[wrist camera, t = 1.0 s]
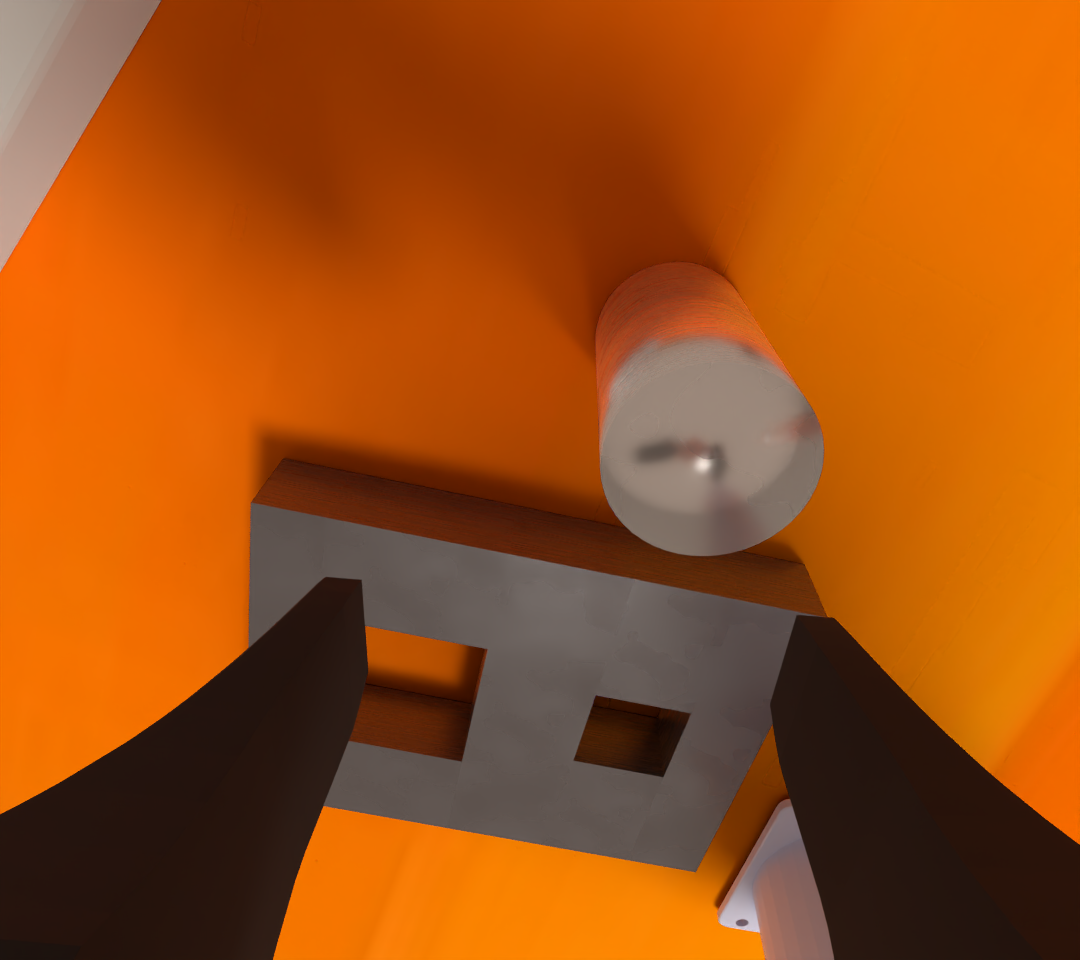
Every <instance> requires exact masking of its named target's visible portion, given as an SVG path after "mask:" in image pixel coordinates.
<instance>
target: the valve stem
mask: <svg viewBox="0 0 1080 960" xmlns="http://www.w3.org/2000/svg"><path fill="white" fill-rule="evenodd" d="M595 349H596V374H597V400H598V425H599V451H600V472H601V482H602V486H603V490H604V493H605V496H606V498H607V501H608V503H609V505H610V507H611V508H612V510H613V512H614V513H615V515H616V516H617V517H618V519H619V520H620V521H621V522H622V523H623V525H625V526H626V527H627V528H628V529H629V530H630V531H631V532H632V533H633V534H635V535H636V536H638V537H639V538H640V539H642V540H644V541H646V542H647V543H649V544H651V545H653V546H655V547H658V548H661V549H663V550H666V551H670V552H673V553H677V554H683V555H690V556H714V555H723V554H728V553H733V552H737V551H740V550H744V549H747V548H749V547H752V546H754V545H757V544H759V543H761V542H763V541H765V540H766V539H768V538H770V537H772V536H773V535H775V534H776V533H778V532H779V531H781V530H782V529H783V528H784V527H786V526H787V525H788V524H789V523H790V522H791V521H793V519H794V518H795V517H796V516H797V515H798V514H799V513H800V512H801V511H802V509H803V508H804V507H805V505H806V504H807V502H808V501H809V500H810V498H811V496H812V494H813V492H814V490H815V489H816V486H817V483H818V481H819V478H820V475H821V471H822V466H823V458H824V444H823V436H822V432H821V428H820V424H819V422H818V419H817V417H816V415H815V413H814V411H813V409H812V408H811V406H810V405H809V403H808V401H807V400H806V398H805V397H804V395H803V394H802V392H801V391H800V389H799V387H798V386H797V384H796V383H795V381H794V380H793V378H792V376H791V375H790V373H789V372H788V370H787V369H786V367H785V366H784V364H783V362H782V361H781V359H780V358H779V356H778V355H777V353H776V351H775V350H774V348H773V347H772V345H771V344H770V342H769V341H768V339H767V337H766V336H765V334H764V333H763V331H762V330H761V328H760V326H759V325H758V323H757V322H756V320H755V319H754V317H753V316H752V314H751V312H750V311H749V309H748V308H747V306H746V305H745V303H744V301H743V300H742V298H741V297H740V295H739V294H738V292H737V291H736V289H735V288H734V287H733V286H732V285H731V283H730V282H729V281H727V280H726V279H725V278H724V277H723V276H721V275H720V274H718V273H717V272H715V271H714V270H711V269H709V268H707V267H705V266H702V265H698V264H695V263H689V262H666V263H660V264H656V265H652V266H650V267H647V268H645V269H642V270H640V271H639V272H637V273H635V274H633V275H632V276H630V277H629V278H627V279H626V280H625V281H624V282H622V283H621V284H620V285H619V286H618V287H617V288H616V289H615V291H614V292H613V293H612V294H611V295H610V297H609V298H608V300H607V301H606V303H605V305H604V307H603V309H602V311H601V313H600V316H599V319H598V322H597V327H596V336H595Z"/></svg>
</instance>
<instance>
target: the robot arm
mask: <svg viewBox="0 0 1080 960" xmlns="http://www.w3.org/2000/svg"><path fill="white" fill-rule="evenodd" d="M367 674H368V661H367V647H366V633H365V619H364V605H363V590H362V580H359V579H347V578H335V577H325V578H323V579H322V580H321V581H320V582H318V583H317V584H316V585H315V586H314V587H313V588H312V589H311V590H310V591H309V592H308V593H307V594H306V595H305V596H304V597H303V598H302V599H301V600H300V601H299V602H298V603H297V604H295V605H294V606H293V607H292V608H291V609H290V610H289V611H288V612H287V613H286V614H285V615H284V616H283V617H282V618H281V619H280V620H279V621H278V622H277V623H275V624H274V625H273V626H272V627H271V628H270V629H269V630H268V631H267V632H266V633H265V634H264V635H262V636H261V637H260V638H259V639H258V640H257V641H256V642H255V643H253V644H252V645H251V646H250V647H249V648H248V649H247V650H246V651H245V652H243V653H242V654H241V655H240V656H239V657H238V658H237V659H236V660H234V661H233V662H232V663H231V664H230V665H229V666H227V667H226V668H225V669H224V670H222V671H221V672H220V673H219V674H218V675H216V676H215V677H214V678H213V679H211V680H210V681H209V682H208V683H206V684H205V685H204V686H203V687H202V688H200V689H199V690H198V691H197V692H195V693H194V694H193V695H192V696H190V697H189V698H188V699H187V700H185V701H184V702H183V703H181V704H180V705H179V706H177V707H176V708H175V709H173V710H172V711H171V712H169V713H168V714H167V715H165V716H164V717H162V718H161V719H160V720H158V721H157V722H155V723H154V724H152V725H151V726H150V727H148V728H147V729H145V730H144V731H142V732H141V733H139V734H138V735H137V736H135V737H134V738H132V739H130V740H129V741H127V742H126V743H124V744H123V745H121V746H120V747H118V748H116V749H115V750H113V751H111V752H110V753H108V754H106V755H105V756H103V757H101V758H100V759H98V760H96V761H95V762H93V763H91V764H90V765H88V766H87V767H85V768H83V769H82V770H80V771H78V772H77V773H75V774H73V775H72V776H70V777H68V778H67V779H65V780H63V781H62V782H60V783H58V784H56V785H55V786H53V787H51V788H49V789H47V790H45V791H44V792H42V793H40V794H38V795H36V796H34V797H33V798H31V799H29V800H27V801H25V802H23V803H21V804H20V805H18V806H16V807H14V808H12V809H10V810H8V811H6V812H4V813H2V814H0V960H273V957H274V953H275V949H276V946H277V942H278V939H279V935H280V932H281V928H282V925H283V921H284V918H285V914H286V911H287V907H288V904H289V900H290V897H291V893H292V890H293V886H294V883H295V880H296V877H297V874H298V871H299V868H300V865H301V862H302V860H303V857H304V854H305V851H306V849H307V846H308V843H309V841H310V838H311V836H312V833H313V831H314V828H315V826H316V823H317V821H318V818H319V816H320V813H321V810H322V808H323V805H324V803H325V800H326V798H327V795H328V793H329V790H330V788H331V785H332V783H333V780H334V777H335V775H336V772H337V770H338V767H339V765H340V762H341V760H342V757H343V754H344V752H345V749H346V747H347V744H348V741H349V739H350V736H351V734H352V731H353V728H354V725H355V721H356V717H357V714H358V710H359V706H360V703H361V699H362V694H363V690H364V686H365V682H366V678H367ZM770 709H771V715H772V722H773V728H774V735H775V741H776V746H777V752H778V757H779V763H780V766H781V770H782V773H783V777H784V780H785V784H786V787H787V790H788V794H789V797H790V799H786V800H783V801H781V802H780V803H779V804H778V805H777V807H776V809H775V811H774V812H773V814H772V816H771V818H770V819H769V821H768V823H767V825H766V826H765V828H764V830H763V832H762V834H761V835H760V837H759V839H758V841H757V842H756V844H755V846H754V848H753V849H752V851H751V853H750V855H749V856H748V858H747V860H746V862H745V863H744V865H743V867H742V869H741V870H740V872H739V874H738V876H737V878H736V879H735V881H734V883H733V885H732V886H731V888H730V890H729V892H728V893H727V895H726V897H725V899H724V900H723V902H722V904H721V906H720V907H719V909H718V912H717V915H718V921H719V923H720V924H722V925H723V926H726V927H731V928H737V929H742V930H748V931H754V932H760V935H761V940H762V945H763V950H764V955H765V960H1080V845H1079V844H1078V843H1077V842H1075V841H1074V840H1072V839H1071V838H1070V837H1068V836H1067V835H1066V834H1064V833H1063V832H1062V831H1061V830H1059V829H1058V828H1057V827H1055V826H1054V825H1053V824H1051V823H1050V822H1049V821H1047V820H1046V819H1045V818H1044V817H1042V816H1041V815H1040V814H1039V813H1037V812H1036V811H1035V810H1034V809H1032V808H1031V807H1030V806H1029V805H1028V804H1026V803H1025V802H1024V801H1023V800H1021V799H1020V798H1019V797H1018V796H1016V795H1015V794H1014V793H1013V792H1011V791H1010V790H1009V789H1008V788H1007V787H1005V786H1004V785H1003V784H1002V783H1001V782H999V781H998V780H997V779H996V778H995V777H994V776H992V775H991V774H990V773H989V772H988V771H987V770H985V769H984V768H983V767H982V766H981V765H980V764H979V763H978V762H977V761H976V760H974V759H973V758H972V757H971V756H970V755H969V754H968V753H967V752H966V751H965V750H964V749H962V748H961V747H960V746H959V745H958V744H957V743H956V742H955V741H954V740H953V739H952V738H950V737H949V736H948V735H947V734H946V733H945V732H944V731H943V730H942V729H941V728H940V727H939V726H938V725H937V724H936V723H935V722H934V721H933V720H932V719H931V718H930V717H929V716H928V715H927V714H926V713H925V712H924V711H923V710H922V709H921V708H920V707H919V706H918V705H917V704H916V703H915V702H914V701H913V700H912V699H911V698H910V697H909V696H908V695H907V694H906V693H905V692H904V691H903V690H902V689H901V688H900V687H899V686H898V685H897V684H896V683H895V682H894V681H893V680H892V679H891V678H890V676H889V675H888V674H887V673H886V672H885V671H884V670H883V669H882V668H881V667H880V666H879V665H878V664H877V663H876V662H875V661H874V660H873V658H872V657H871V656H870V655H869V654H868V653H867V652H866V651H865V650H864V649H863V648H862V647H861V646H860V645H859V643H858V642H857V641H856V640H855V639H854V638H853V637H852V636H851V635H850V634H849V633H848V632H847V631H846V630H845V629H844V628H843V627H842V626H841V625H840V624H839V623H838V622H837V621H836V620H835V619H834V618H829V617H817V616H804V615H796V618H795V622H794V625H793V629H792V632H791V635H790V639H789V642H788V645H787V649H786V652H785V655H784V659H783V662H782V665H781V669H780V672H779V675H778V679H777V682H776V685H775V689H774V692H773V695H772V699H771V702H770Z"/></svg>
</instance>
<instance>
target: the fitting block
mask: <svg viewBox="0 0 1080 960" xmlns="http://www.w3.org/2000/svg"><path fill="white" fill-rule="evenodd" d="M325 577H335V578H347V579H359V580H362V590H363V605H364V619H365V626H369V627H375V628H380V629H385V630H390V631H396V632H401V633H406V634H411V635H416V636H422V637H427V638H432V639H437V640H442V641H448V642H453V643H458V644H463V645H468V646H474V647H479V648H484V653H483V657H482V662H481V666H480V670H479V675H478V679H477V684H476V688H475V693H474V697H473V701H472V704H469V703H464V702H458V701H453V700H448V699H442V698H437V697H432V696H426V695H421V694H416V693H410V692H405V691H400V690H394V689H389V688H384V687H378V686H373V685H368V684H365V686H364V690H363V694H362V699H361V703H360V706H359V710H358V714H357V717H356V721H355V725H354V728H353V731H352V734H351V736H350V739H349V741H348V744H347V747H346V749H345V752H344V754H343V757H342V760H341V762H340V765H339V767H338V770H337V772H336V775H335V777H334V780H333V783H332V785H331V788H330V790H329V793H328V795H327V798H326V800H325V803H324V805H323V806H327V807H332V808H338V809H344V810H349V811H355V812H360V813H366V814H372V815H377V816H383V817H389V818H394V819H400V820H405V821H411V822H417V823H422V824H428V825H434V826H439V827H445V828H451V829H456V830H462V831H467V832H473V833H479V834H484V835H490V836H496V837H501V838H507V839H512V840H518V841H524V842H529V843H535V844H541V845H546V846H552V847H557V848H563V849H569V850H574V851H580V852H586V853H591V854H597V855H602V856H608V857H614V858H619V859H625V860H631V861H636V862H642V863H647V864H653V865H659V866H664V867H670V868H676V869H681V870H687V871H692V872H696V870H697V868H698V866H699V865H700V863H701V861H702V859H703V857H704V855H705V853H706V851H707V849H708V847H709V845H710V843H711V841H712V839H713V838H714V836H715V834H716V832H717V830H718V828H719V826H720V824H721V822H722V820H723V818H724V816H725V814H726V812H727V811H728V809H729V807H730V805H731V803H732V801H733V799H734V797H735V795H736V793H737V791H738V789H739V787H740V785H741V784H742V782H743V780H744V778H745V776H746V774H747V772H748V770H749V768H750V766H751V764H752V762H753V760H754V758H755V757H756V755H757V753H758V751H759V749H760V747H761V745H762V743H763V741H764V739H765V737H766V735H767V733H768V731H769V730H770V728H771V726H772V724H773V722H772V715H771V709H770V702H771V699H772V695H773V692H774V689H775V685H776V682H777V679H778V675H779V672H780V669H781V665H782V662H783V659H784V655H785V652H786V649H787V645H788V642H789V639H790V635H791V632H792V629H793V625H794V622H795V618H796V615H804V616H817V617H827V615H826V613H825V611H824V608H823V606H822V604H821V601H820V599H819V597H818V594H817V592H816V590H815V587H814V585H813V583H812V580H811V578H810V576H809V573H808V571H807V569H806V566H805V564H800V563H795V562H790V561H786V560H781V559H776V558H771V557H766V556H761V555H756V554H751V553H746V552H741V551H737V552H733V553H728V554H723V555H714V556H690V555H683V554H677V553H673V552H670V551H666V550H663V549H661V548H658V547H655V546H653V545H651V544H649V543H647V542H646V541H644V540H642V539H640V538H639V537H638V536H636V535H635V534H633V533H632V532H631V531H630V530H629V529H628V528H623V527H618V526H614V525H609V524H604V523H599V522H594V521H589V520H584V519H579V518H574V517H569V516H564V515H559V514H555V513H550V512H545V511H540V510H535V509H530V508H525V507H520V506H515V505H510V504H505V503H501V502H496V501H491V500H486V499H481V498H476V497H471V496H466V495H461V494H456V493H451V492H446V491H442V490H437V489H432V488H427V487H422V486H417V485H412V484H407V483H402V482H397V481H392V480H387V479H383V478H378V477H373V476H368V475H363V474H358V473H353V472H348V471H343V470H338V469H333V468H329V467H324V466H319V465H314V464H309V463H304V462H299V461H294V460H289V459H283V460H282V461H281V463H280V464H279V465H278V467H277V468H276V469H275V471H274V472H273V473H272V475H271V476H270V478H269V479H268V480H267V482H266V483H265V484H264V486H263V487H262V488H261V490H260V491H259V492H258V494H257V495H256V496H255V498H254V499H253V501H252V502H251V532H250V597H249V647H250V646H251V645H252V644H253V643H255V642H256V641H257V640H258V639H259V638H260V637H261V636H262V635H264V634H265V633H266V632H267V631H268V630H269V629H270V628H271V627H272V626H273V625H274V624H275V623H277V622H278V621H279V620H280V619H281V618H282V617H283V616H284V615H285V614H286V613H287V612H288V611H289V610H290V609H291V608H292V607H293V606H294V605H295V604H297V603H298V602H299V601H300V600H301V599H302V598H303V597H304V596H305V595H306V594H307V593H308V592H309V591H310V590H311V589H312V588H313V587H314V586H315V585H316V584H317V583H318V582H320V581H321V580H322V579H323V578H325ZM596 695H597V696H602V697H607V698H613V699H618V700H623V701H629V702H634V703H639V704H644V705H650V706H655V707H660V708H661V710H660V712H659V715H658V717H657V718H654V717H648V716H643V715H638V714H632V713H627V712H622V711H617V710H611V709H606V708H601V707H595V706H592V705H593V702H594V699H595V696H596Z"/></svg>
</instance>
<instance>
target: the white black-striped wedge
mask: <svg viewBox="0 0 1080 960" xmlns="http://www.w3.org/2000/svg"><path fill="white" fill-rule="evenodd" d="M160 2H161V0H0V272H1V270H2V268H3V267H4V265H5V263H6V262H7V260H8V258H9V256H10V255H11V253H12V251H13V250H14V248H15V246H16V245H17V243H18V241H19V240H20V238H21V236H22V235H23V233H24V231H25V229H26V228H27V226H28V224H29V223H30V221H31V219H32V218H33V216H34V214H35V213H36V211H37V209H38V208H39V206H40V204H41V202H42V201H43V199H44V197H45V196H46V194H47V192H48V191H49V189H50V187H51V186H52V184H53V182H54V181H55V179H56V177H57V175H58V174H59V172H60V170H61V169H62V167H63V165H64V164H65V162H66V160H67V159H68V157H69V155H70V154H71V152H72V150H73V149H74V147H75V145H76V143H77V142H78V140H79V138H80V137H81V135H82V133H83V132H84V130H85V128H86V127H87V125H88V123H89V122H90V120H91V118H92V116H93V115H94V113H95V111H96V110H97V108H98V106H99V105H100V103H101V101H102V100H103V98H104V96H105V95H106V93H107V91H108V89H109V88H110V86H111V84H112V83H113V81H114V79H115V78H116V76H117V74H118V73H119V71H120V69H121V68H122V66H123V64H124V62H125V61H126V59H127V57H128V56H129V54H130V52H131V51H132V49H133V47H134V46H135V44H136V42H137V41H138V39H139V37H140V36H141V34H142V32H143V30H144V29H145V27H146V25H147V24H148V22H149V20H150V19H151V17H152V15H153V14H154V12H155V10H156V9H157V7H158V5H159V3H160Z"/></svg>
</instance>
